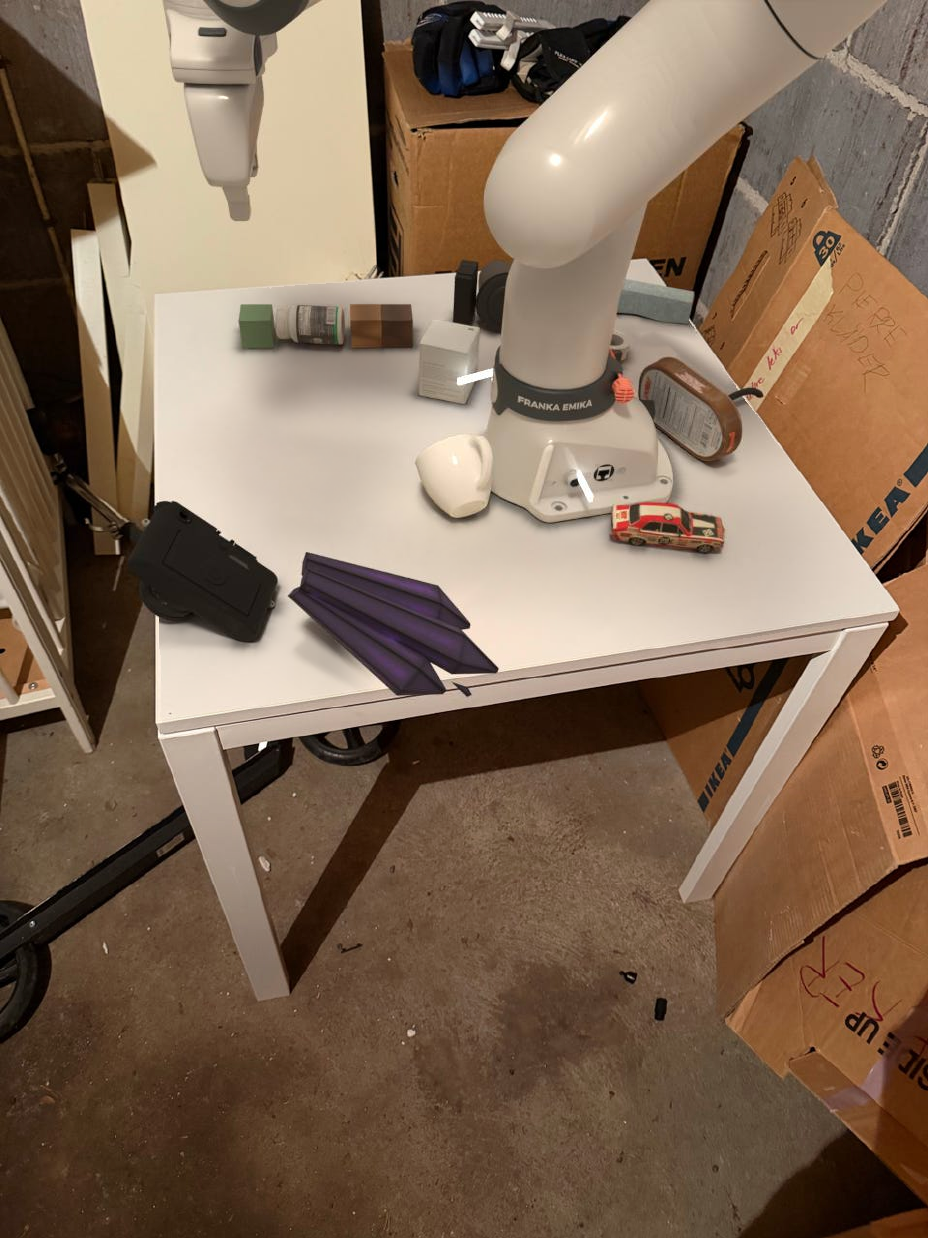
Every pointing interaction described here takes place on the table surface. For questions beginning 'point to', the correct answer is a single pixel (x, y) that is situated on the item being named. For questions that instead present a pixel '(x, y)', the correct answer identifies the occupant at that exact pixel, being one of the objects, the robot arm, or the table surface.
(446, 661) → the crystal
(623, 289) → the light blue foam bar
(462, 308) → the ink cartridge
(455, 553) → the table surface
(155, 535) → the camera
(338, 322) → the pill bottle
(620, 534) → the race car
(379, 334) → the block beech
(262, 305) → the block sage
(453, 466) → the cup
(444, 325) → the product box
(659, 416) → the tin
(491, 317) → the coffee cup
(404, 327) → the block walnut
